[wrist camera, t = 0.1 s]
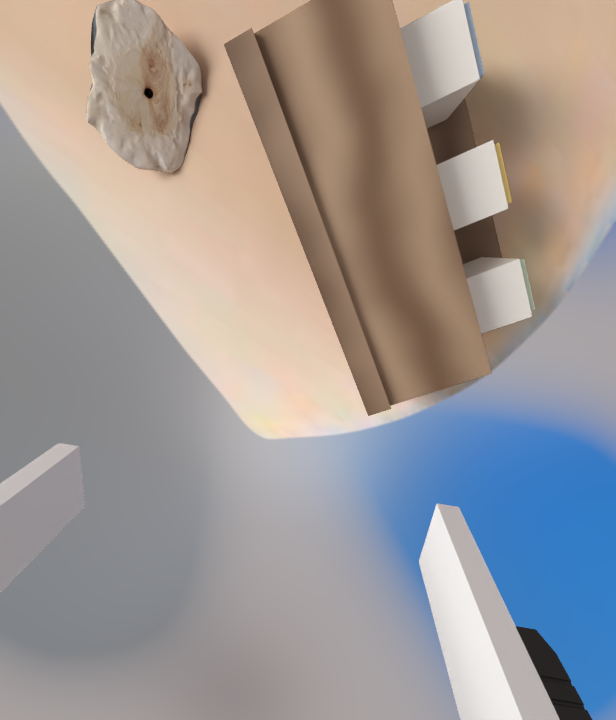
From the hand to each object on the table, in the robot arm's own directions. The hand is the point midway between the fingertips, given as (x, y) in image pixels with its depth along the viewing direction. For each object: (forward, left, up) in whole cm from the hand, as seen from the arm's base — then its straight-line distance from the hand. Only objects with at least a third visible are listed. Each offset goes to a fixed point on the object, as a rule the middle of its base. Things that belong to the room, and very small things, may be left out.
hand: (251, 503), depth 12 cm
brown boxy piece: (-13, +8, -28) cm, 32 cm away
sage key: (-7, +15, -27) cm, 31 cm away
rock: (-20, -18, -28) cm, 39 cm away
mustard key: (-15, +10, -27) cm, 32 cm away
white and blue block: (-22, +6, -27) cm, 35 cm away
